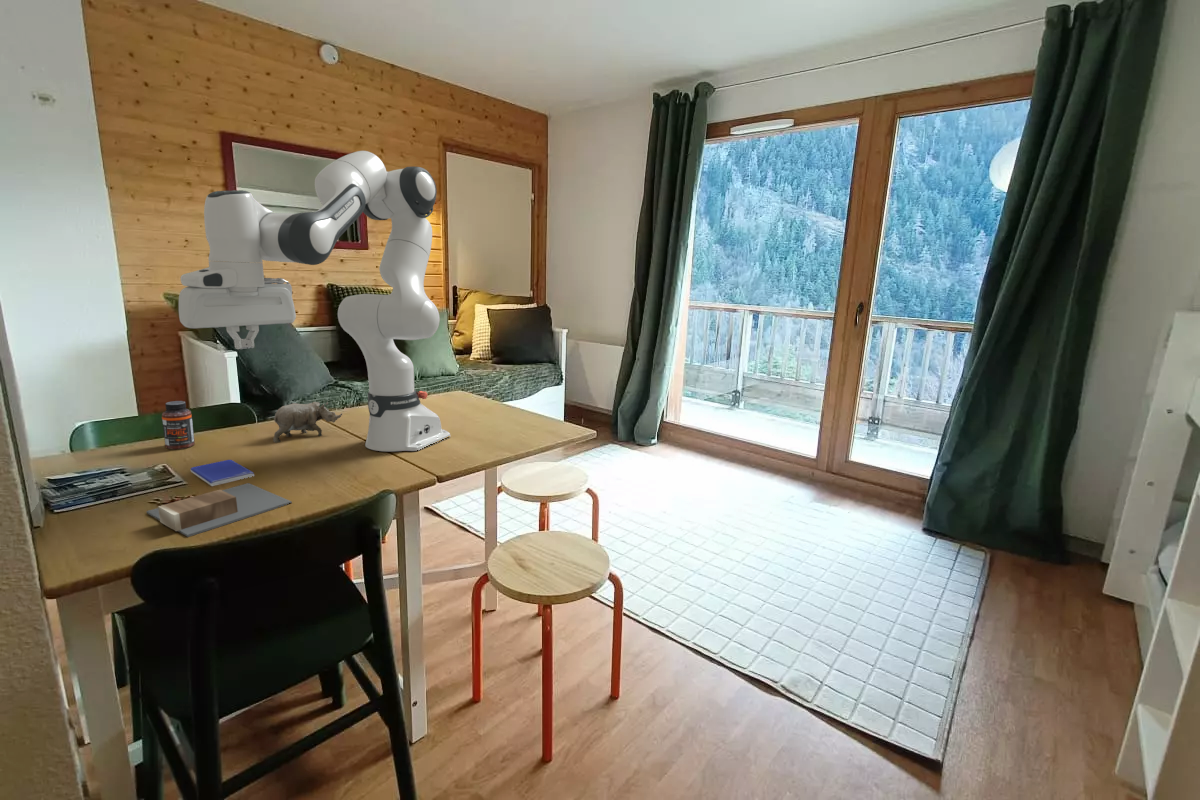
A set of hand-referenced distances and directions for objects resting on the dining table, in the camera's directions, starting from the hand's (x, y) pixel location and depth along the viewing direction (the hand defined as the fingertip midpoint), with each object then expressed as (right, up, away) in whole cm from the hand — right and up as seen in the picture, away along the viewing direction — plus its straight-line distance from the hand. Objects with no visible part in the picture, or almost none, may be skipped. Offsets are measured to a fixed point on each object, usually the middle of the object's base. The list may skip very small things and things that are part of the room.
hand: (244, 348), depth 113 cm
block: (+1, -29, -6) cm, 30 cm away
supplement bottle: (-34, -22, +29) cm, 50 cm away
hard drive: (-13, -27, +12) cm, 33 cm away
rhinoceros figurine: (-9, -20, +42) cm, 47 cm away
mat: (-1, -31, -5) cm, 31 cm away
